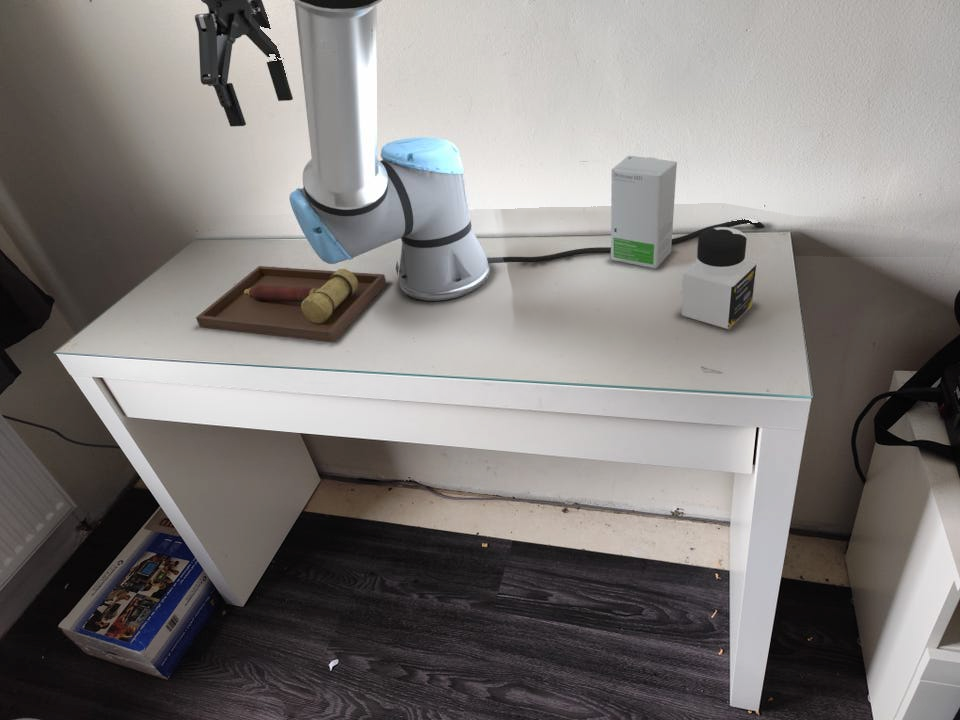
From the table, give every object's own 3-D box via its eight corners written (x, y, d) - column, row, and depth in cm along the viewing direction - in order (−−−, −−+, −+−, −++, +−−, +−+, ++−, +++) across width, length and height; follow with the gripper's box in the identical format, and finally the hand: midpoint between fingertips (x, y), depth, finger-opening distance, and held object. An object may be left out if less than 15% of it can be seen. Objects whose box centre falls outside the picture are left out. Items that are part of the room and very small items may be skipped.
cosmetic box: (610, 261, 110) (607, 169, 101) (627, 243, 114) (626, 154, 105) (658, 269, 106) (660, 174, 97) (674, 251, 110) (677, 158, 101)
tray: (386, 284, 115) (384, 274, 114) (333, 342, 102) (330, 332, 101) (262, 274, 125) (259, 265, 123) (199, 327, 112) (195, 317, 111)
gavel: (220, 295, 112) (258, 266, 119) (231, 318, 114) (267, 288, 121) (319, 300, 103) (354, 268, 110) (329, 325, 105) (362, 292, 112)
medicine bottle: (728, 330, 90) (736, 251, 83) (680, 316, 95) (683, 239, 88) (752, 306, 94) (761, 227, 87) (705, 293, 98) (710, 217, 91)
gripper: (247, -40, 112) (286, 91, 125) (139, -13, 94) (197, 138, 106) (284, -45, 109) (320, 89, 122) (179, -18, 91) (234, 137, 104)
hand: (263, 112), depth 114 cm, fingers open, 13 cm apart
